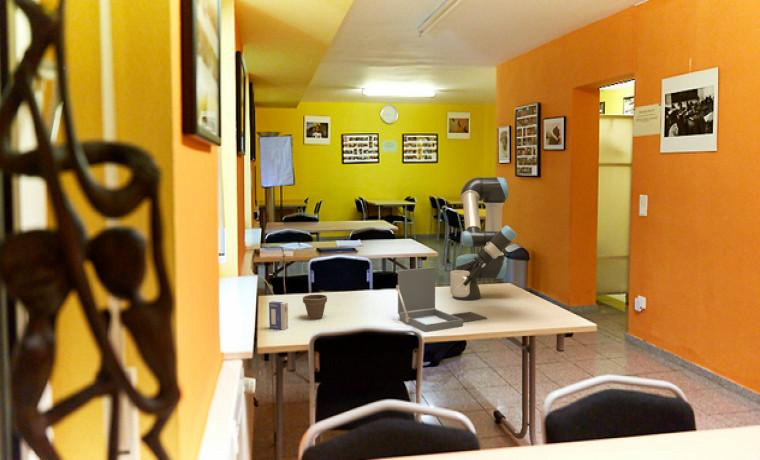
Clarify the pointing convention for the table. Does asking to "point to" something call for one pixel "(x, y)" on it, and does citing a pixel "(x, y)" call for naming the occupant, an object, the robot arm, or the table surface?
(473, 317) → the rubber mat
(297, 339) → the table surface
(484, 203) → the robot arm
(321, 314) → the flower pot
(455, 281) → the mug
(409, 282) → the equipment case
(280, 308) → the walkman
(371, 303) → the table surface
